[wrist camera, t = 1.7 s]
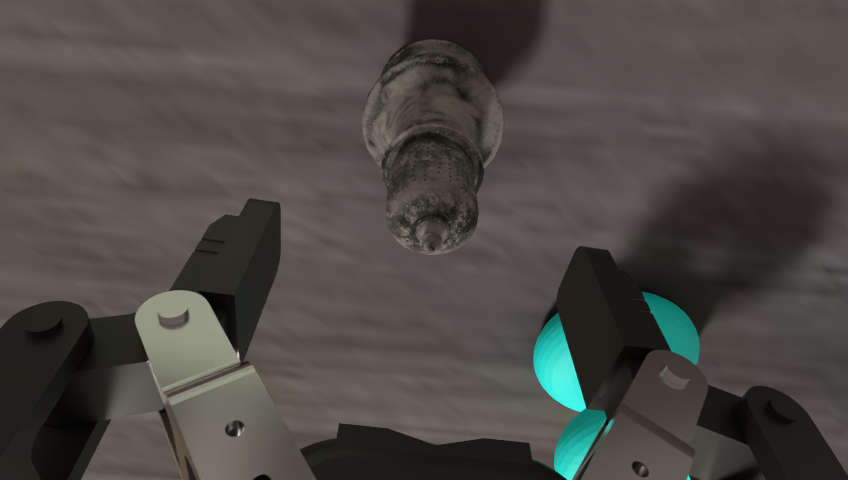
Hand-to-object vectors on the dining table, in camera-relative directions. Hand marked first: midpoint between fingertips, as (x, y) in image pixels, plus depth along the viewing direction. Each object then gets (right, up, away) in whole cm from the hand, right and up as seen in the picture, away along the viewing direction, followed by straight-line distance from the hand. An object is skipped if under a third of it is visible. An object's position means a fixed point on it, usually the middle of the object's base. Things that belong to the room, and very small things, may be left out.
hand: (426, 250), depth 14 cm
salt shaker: (0, +7, +10) cm, 13 cm away
